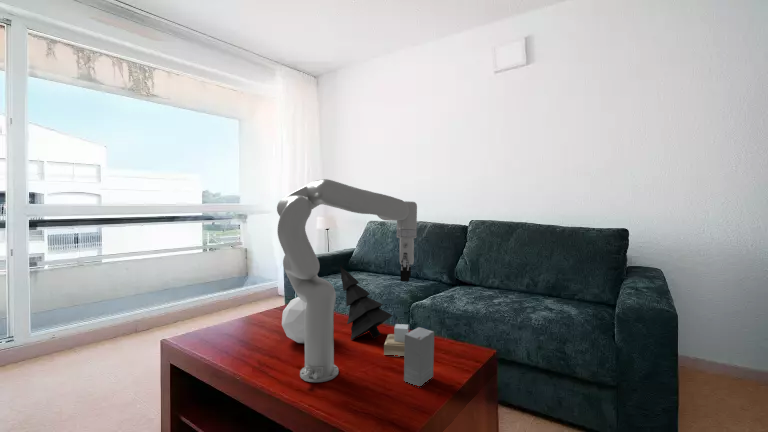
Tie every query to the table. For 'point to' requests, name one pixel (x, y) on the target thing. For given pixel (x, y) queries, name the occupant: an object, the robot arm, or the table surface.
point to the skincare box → (418, 356)
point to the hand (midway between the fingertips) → (405, 278)
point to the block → (400, 332)
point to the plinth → (393, 346)
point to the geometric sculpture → (294, 320)
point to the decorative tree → (362, 308)
